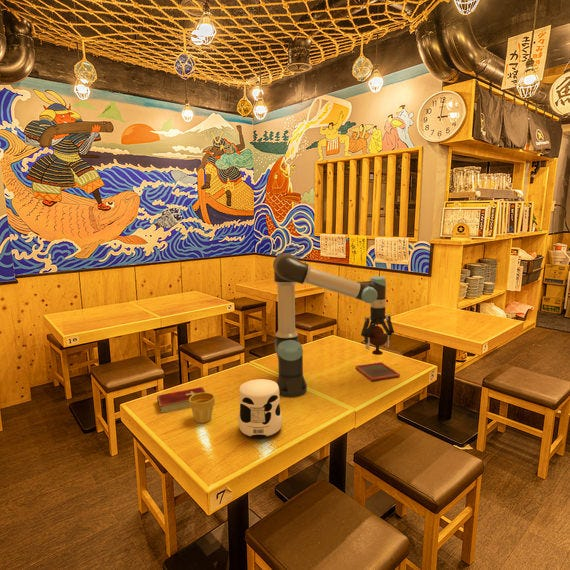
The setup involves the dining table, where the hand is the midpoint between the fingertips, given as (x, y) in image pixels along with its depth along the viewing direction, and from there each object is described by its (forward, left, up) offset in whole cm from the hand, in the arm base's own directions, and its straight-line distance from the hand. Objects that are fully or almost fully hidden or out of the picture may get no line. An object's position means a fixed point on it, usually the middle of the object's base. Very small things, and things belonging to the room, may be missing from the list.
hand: (377, 347), depth 206 cm
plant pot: (-92, -19, -14) cm, 95 cm away
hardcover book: (-100, -1, -15) cm, 101 cm away
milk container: (-71, -35, -14) cm, 81 cm away
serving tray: (0, 0, -14) cm, 14 cm away
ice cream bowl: (0, 0, -3) cm, 3 cm away
